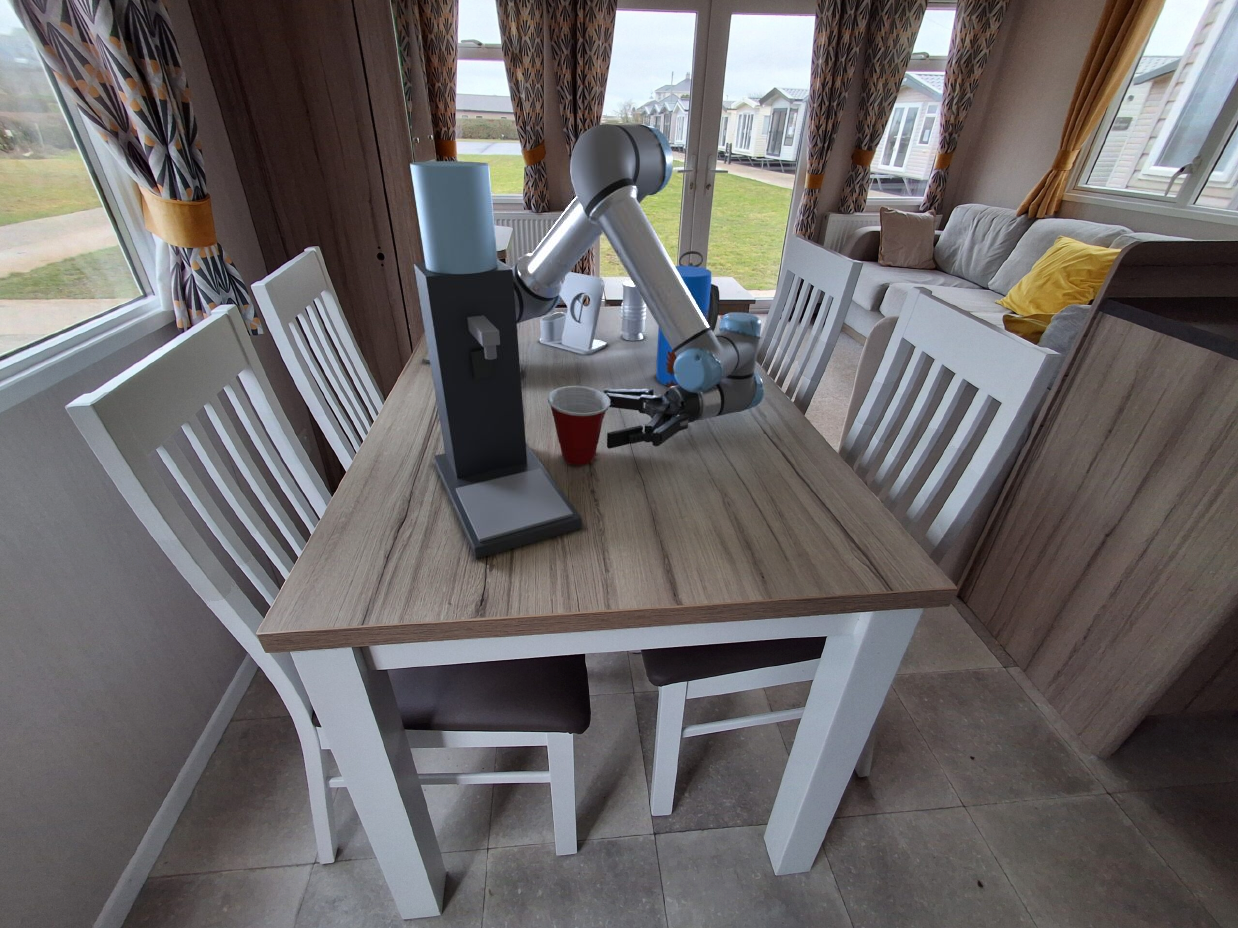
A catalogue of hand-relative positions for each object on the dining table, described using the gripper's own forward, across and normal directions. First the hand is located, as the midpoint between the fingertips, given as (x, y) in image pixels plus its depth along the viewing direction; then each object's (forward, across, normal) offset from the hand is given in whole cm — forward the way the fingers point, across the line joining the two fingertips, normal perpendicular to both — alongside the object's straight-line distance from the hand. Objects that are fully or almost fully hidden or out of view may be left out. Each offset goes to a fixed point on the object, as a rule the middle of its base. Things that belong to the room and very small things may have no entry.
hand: (590, 424), depth 99 cm
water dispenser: (+18, -5, -6) cm, 20 cm away
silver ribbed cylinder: (-39, +55, -7) cm, 68 cm away
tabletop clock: (-48, +42, -7) cm, 64 cm away
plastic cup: (+2, 0, -7) cm, 7 cm away
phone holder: (-21, +57, -7) cm, 61 cm away
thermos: (-34, +24, -7) cm, 42 cm away
